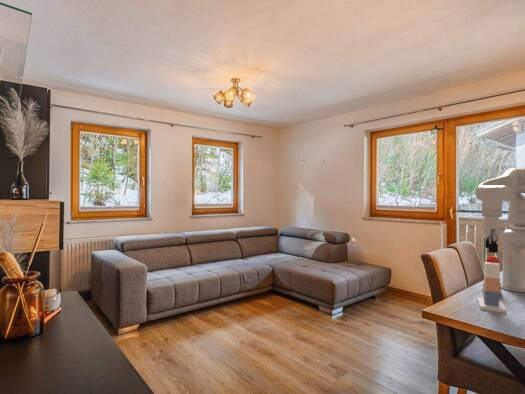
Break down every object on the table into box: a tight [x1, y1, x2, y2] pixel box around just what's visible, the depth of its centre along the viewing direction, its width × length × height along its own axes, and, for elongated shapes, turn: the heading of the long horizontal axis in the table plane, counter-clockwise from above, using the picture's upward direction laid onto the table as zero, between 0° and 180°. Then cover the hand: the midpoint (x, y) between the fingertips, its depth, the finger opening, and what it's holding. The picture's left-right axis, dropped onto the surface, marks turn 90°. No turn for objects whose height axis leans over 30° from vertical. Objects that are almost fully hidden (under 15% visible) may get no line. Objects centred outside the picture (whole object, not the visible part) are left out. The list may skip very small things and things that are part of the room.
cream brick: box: [483, 261, 501, 280], centre depth 138 cm, size 5×5×6 cm
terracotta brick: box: [483, 275, 501, 293], centre depth 138 cm, size 5×5×6 cm
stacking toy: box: [482, 255, 502, 295], centre depth 158 cm, size 8×8×19 cm
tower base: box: [476, 289, 507, 314], centre depth 138 cm, size 12×9×8 cm
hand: (491, 250), depth 142 cm, fingers open, 9 cm apart
